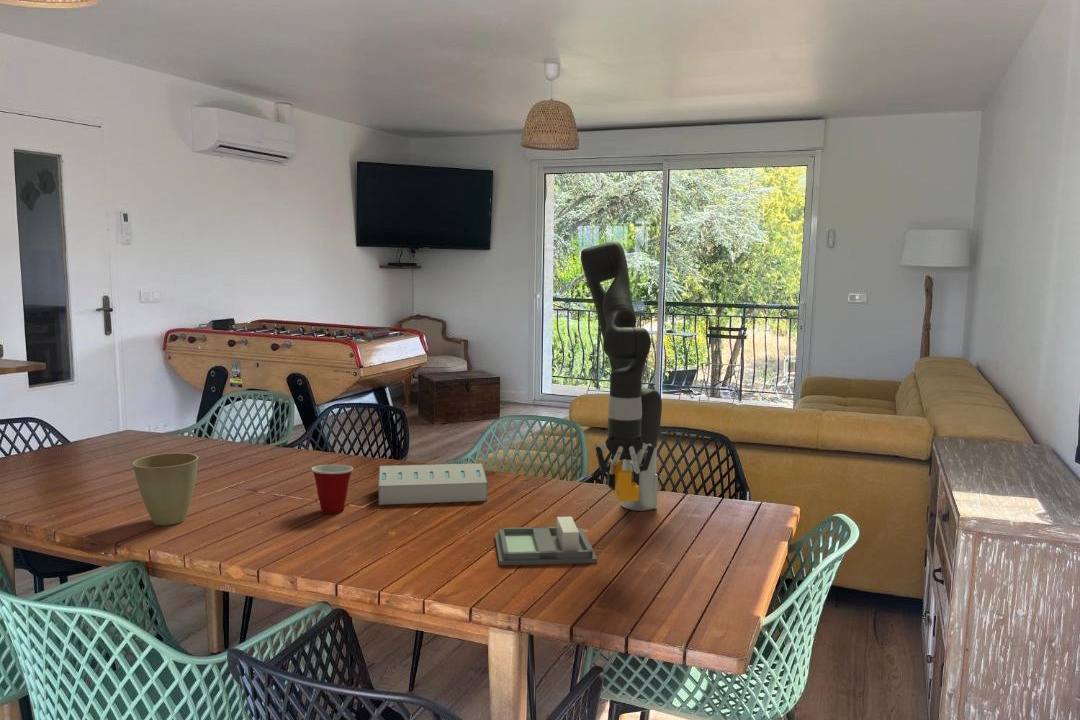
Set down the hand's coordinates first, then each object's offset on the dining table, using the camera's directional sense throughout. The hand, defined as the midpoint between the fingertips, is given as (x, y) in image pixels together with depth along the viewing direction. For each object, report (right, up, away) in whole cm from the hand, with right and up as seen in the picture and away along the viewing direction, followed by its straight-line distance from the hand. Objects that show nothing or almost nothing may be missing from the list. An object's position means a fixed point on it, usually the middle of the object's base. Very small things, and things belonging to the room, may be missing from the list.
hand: (622, 488), depth 180 cm
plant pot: (-113, -12, +20) cm, 116 cm away
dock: (-18, -15, +5) cm, 24 cm away
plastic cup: (-74, -11, +30) cm, 81 cm away
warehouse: (-50, -10, +46) cm, 69 cm away
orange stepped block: (0, -1, 0) cm, 1 cm away
